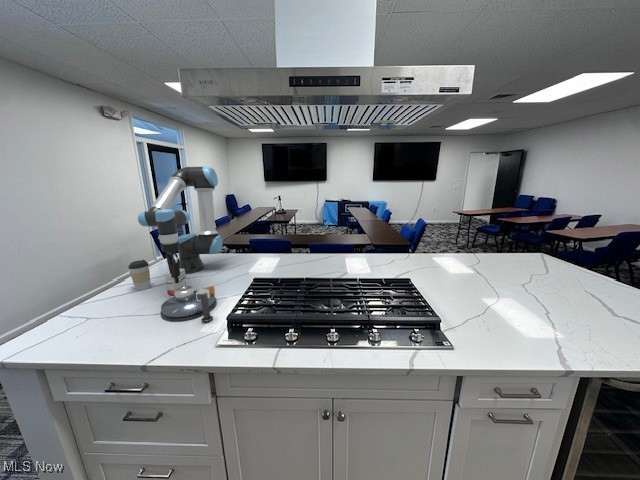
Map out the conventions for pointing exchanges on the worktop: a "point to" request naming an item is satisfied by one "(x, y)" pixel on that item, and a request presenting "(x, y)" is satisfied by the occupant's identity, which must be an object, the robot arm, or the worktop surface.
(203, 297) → the dial post
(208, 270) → the worktop surface
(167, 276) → the ink box
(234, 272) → the worktop surface
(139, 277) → the coffee cup
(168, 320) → the base
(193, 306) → the turntable
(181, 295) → the cover
